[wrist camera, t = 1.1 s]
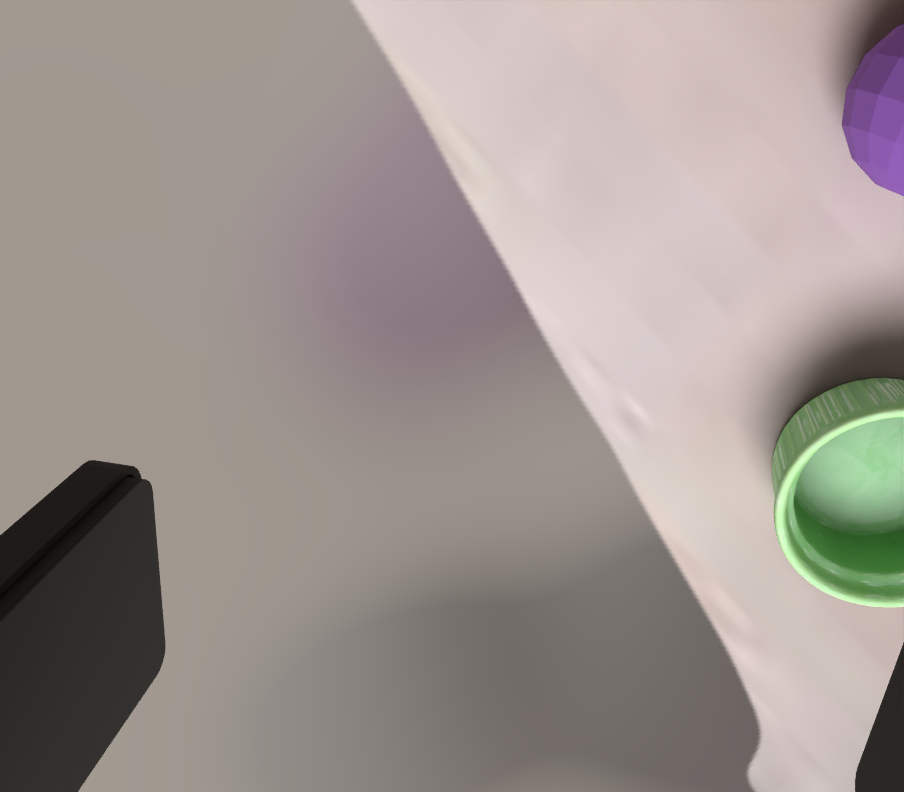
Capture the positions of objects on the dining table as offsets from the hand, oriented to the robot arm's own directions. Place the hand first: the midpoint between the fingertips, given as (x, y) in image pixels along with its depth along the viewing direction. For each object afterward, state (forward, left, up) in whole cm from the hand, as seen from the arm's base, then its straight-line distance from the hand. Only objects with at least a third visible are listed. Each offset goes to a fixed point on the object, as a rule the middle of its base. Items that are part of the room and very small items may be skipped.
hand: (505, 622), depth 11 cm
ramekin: (-2, +17, -27) cm, 32 cm away
